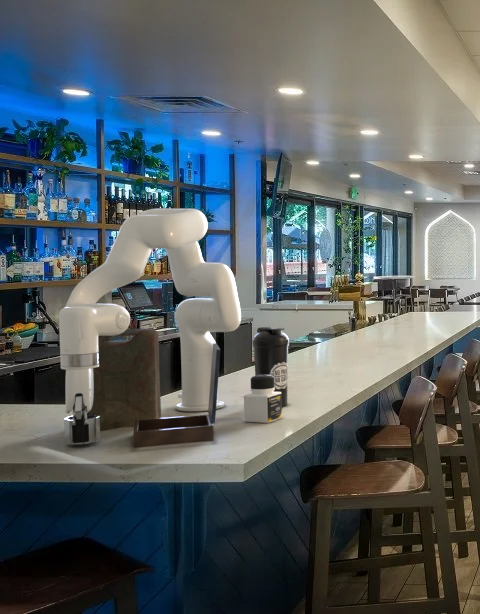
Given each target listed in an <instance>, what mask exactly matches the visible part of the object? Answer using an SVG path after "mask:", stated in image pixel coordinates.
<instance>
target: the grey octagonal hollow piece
mask: <svg viewBox="0 0 480 614" xmlns="http://www.w3.org/2000/svg"><path fill="white" fill-rule="evenodd" d="M87 424H89V441H88V442H82V443H73V441H72V425H73V415H70V416H67V417H65V418H63V431H64V432H63V434H64V444H66V445H86V444H92V443H93V444H94V443H97V442H99V441H100V440H101V431H100V418H99V415H95V414H87Z"/></svg>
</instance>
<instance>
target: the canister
mask: <svg viewBox="0 0 480 614" xmlns="http://www.w3.org/2000/svg"><path fill="white" fill-rule="evenodd" d="M117 336H118V337H119V336H120V337H121V336H133V337H131V338H130V339H129V340H128V339H127V340H111V337H112V336H98V346H99V367H96V368H93V374H94V397H93V406H92V408H91V410H90V413H91V414H95V415H99V418H100V432H103V431H109V430H110V431H111V430H115V429H121V428H134V425H135V420H143V419H156V418H162V417H161V416H162V405H161V404H162V403H161V402H162V401H161V378H160V377H161V376H160V347H159V346H160V344H159V343H160V342H159V341H160V338H159V333H158V332H157V330H156V329H154V328H150V327H147V328H127V329H126V330H125V331H124V332H123V333H121V334H119V335H115V336H114V337H117Z"/></svg>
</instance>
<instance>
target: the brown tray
mask: <svg viewBox="0 0 480 614" xmlns="http://www.w3.org/2000/svg"><path fill="white" fill-rule="evenodd" d="M132 435H133V439H132V440H133V448H134V449H136V448H138V449H139V448H148V447H159V446H160V447H161V446H171V445H181V444H192V443H193V444H194V443H201V442H213V441H214V424H211V421H210V417H209V414H196V415H195V414H194V415H182V416H170V417H160V418H156V419H143V420H135V425H134V427H133V432H132Z"/></svg>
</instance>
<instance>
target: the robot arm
mask: <svg viewBox="0 0 480 614" xmlns="http://www.w3.org/2000/svg"><path fill="white" fill-rule="evenodd" d="M208 226H209V225H208V219H207V217H206V215H205V213H203V212H202V211H201V210H199V209H197V208H150V209H146V210H144V211H143V212H141V214H136V215H131V216H129V217H127V218H126V219H125V220H124V221H123V222H122V223H121V226H120V228H119V230H118V232H117V235H116V238H115V240H114V241H113V243H112V246H111V249H110V251H109V253H108V254H107V258H106V260H105V261H104V263H102V264H101V265H99V266H98V267H96V268H95V269H93V271H91V272H90V273H89V274H87V275H86V276H84V278H83V279H81V280H80V281H79V282H78V283H77V284H76V286H75V287H74V288H73V290H72V291H71V293H70V295H69V297H68V299H67V302H66V304H65V306H64V307H62V308H61V309H60V310H59V313H58V326H59V328H58V329H59V351H60V354H59V357H60V369H61V370H65V380H64V381H65V382H64V383H65V385H64V387H65V409H64V411H65V413H66V414H70V413H71V412H72V416H73V425H72V441H73V443H82V442H88V441H89V424H87V414H91V413H90V410H91V408H92V406H93V397H94V374H93V368H96V367H99V346H98V340H99V338H98V337H101V336H111V337H113V336H114V337H116V336H115V335H119V334H121V333H123V332H124V331H125V330H126V329H129V326H130V325H131V315H130V312H129V311H128V310H127V309H126V308H125V307H124V306H122V305H120V304H116V303H97V302H98V301H100V299H102V297H104V296H105V295H106V294H108V293H110V292H111V291H114V290H117V289H119V288H121V287H124V286H127V285H129V284H131V283H133V282H135V281H137V280H139V279H140V278H141V277H142V276H143V274H144V271H145V269H146V266H147V264H148V261H149V259H150V256H151V254H152V252H153V250H154V249H164V250H165V252H166V254H167V258H168V263H169V266H170V267H169V268H170V271H171V276H172V280H173V283H174V287H175V289H176V292H178V294H179V295H182V296H186V297H194V298H187V299H185V300H182V301H181V302H180V303H179V304H178V306H177V307H176V311H175V320H176V324H177V327H178V333H179V339H180V360H181V361H180V364H181V365H180V366H181V367H180V368H181V393H178V395H177V397H178V398H179V399H181V402H180V403H177V404H176V410H177V411H180V412H205V411H206V412H208V407H209V393H210V379H211V365H212V351H213V343H216V340H215V339H214V337H213V336H212V334H211V333H228V332H229V333H230V332H234V331H236V330H237V329H239V327H240V325H241V321H242V311H241V305H240V300H239V294H238V290H237V284H236V280H235V276H234V273H233V271H232V270H231V268H230V267H229V265H226V264H225V263H222V262H206V261H204V259H203V255H202V250H201V248H200V247H201V246H200V244H199V241H200V240H202V239H203V238H204V237H205V235H206V233H207V231H208ZM205 297H206V298H205ZM210 297H212V298H210ZM224 406H225V402H224V401H222V400H219V388H218V389H217V403H216V410H218V409H221V408H223V407H224Z"/></svg>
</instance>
